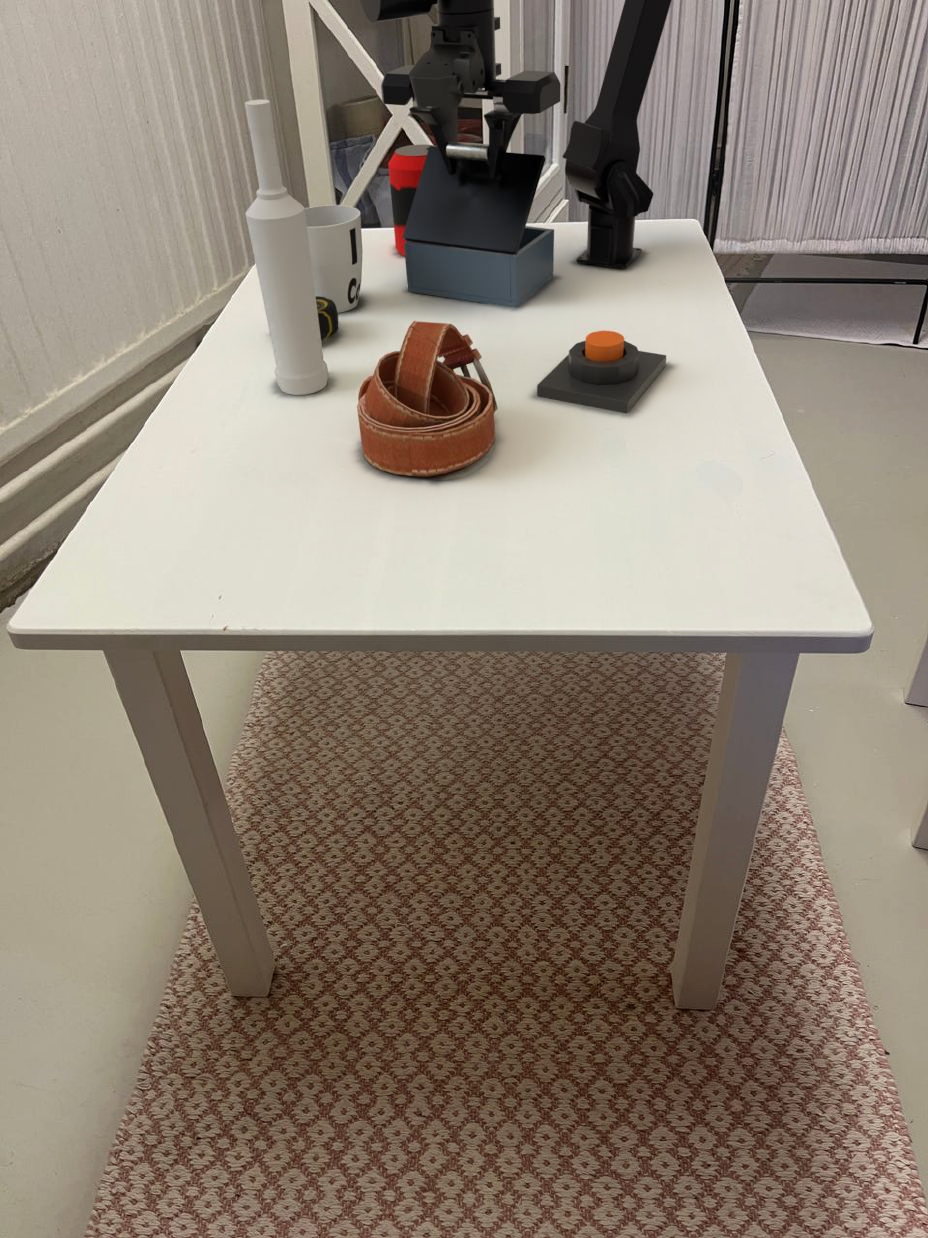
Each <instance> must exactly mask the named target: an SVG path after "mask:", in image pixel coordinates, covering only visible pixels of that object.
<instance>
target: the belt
mask: <svg viewBox="0 0 928 1238" xmlns="http://www.w3.org/2000/svg"><path fill="white" fill-rule="evenodd" d="M473 343H474V342H473V340H472V338H471V337H470V336H469V334H468V333H466V334H463V335H462V333H461V331H460V330H459V329H458V328H457V327H456V326H455V325H454V324H452V323H445V322H430V321H417V320H413V322H411V323H410V325H409V327H408V328H407V330H406V333H405V335H404V337H403V340H402V344H401V346H400V350H395V351H391V352H388V353H385V354H384V355H383V356H382V357H381V358H379V360H378V362H377V364H376V366H375V369H374V371H373V374H372V375H369V376H368V377H367V378H366V379H364V380H363V382H362V384H361V385H360V387H359V392H358V396H357V397H358V398H357V399H358V403H357V406H356V408H357V409H356V410H357V418H358V426H359V433H360V441H361V449H362V453H363V457H364V458H365V460H367V462H368V463H369V464H370V465H372V466H373V467H375V468H376V469H379V470H381V471H383V472H387V473H391V474H393V475H402V476H409V477H423V478H429V477H434V476H439V475H444V474H449V473H451V472H454V471H457V470H461V469H464V468H466V467H468V466H470V465H472V464H474V463H477V462H478V461H480V460H481V459H482V458H483V457H484V456H486V455H487V454H488V453H489V452H490V450H491V449H492V446H493V445H494V443H495V440H496V439H495V437H496V427H495V413H496V412H497V411H498V409H499V408H498V404H497V400H496V397H495V394H494V390H493V387H492V385H491V381H490V379H489V377H488V376H487V374H486V371H485V368H484V367H483V365H482V363H481V359H482V357H483V356H482V355H481V353H480V351H479V350H478V348H477V347H476V348H473V349H472V347H471V346H472V345H473ZM441 358H443V359H444V360H443V361H442V362H441V361H440V360H438V359H441ZM470 364H473V367H474V368H475V371H476V374H477V376H478V378H479V380H477V379H476V378H473V377H472V376H471V374H470V371H469V369H468V365H470ZM456 369H460V370H461V372H462V374H463V375H460V374H457V373H456V372H455V371H454V370H456Z"/></svg>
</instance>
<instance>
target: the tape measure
mask: <svg viewBox="0 0 928 1238" xmlns="http://www.w3.org/2000/svg"><path fill="white" fill-rule="evenodd" d="M316 304H317V312H318V320H319V328H320V336H321V342H323V341H324V340H327V339H329V338H331V337H333V336H334V335H335V334H336V333H338V331H339V326H340V325H339V324H340V323H339V322H340V321H339V313H337V308H336V305H335V303H334V302H333V301H332V300H330V299H327V298H325V297H320V296H316Z"/></svg>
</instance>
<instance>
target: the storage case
mask: <svg viewBox="0 0 928 1238" xmlns="http://www.w3.org/2000/svg"><path fill="white" fill-rule="evenodd" d="M404 250H405V256H404V261H405V273H406V285H407V292H409V293H415V294H422V295H428V296H434V297H441V298H446V299H447V298H448V299H455V300H460V301H468V302H473V303H481V304H490V305H495V306H496V305H497V306H501V307H509V308H515V309H517V308H518V307H519V306H520V305H522V304H523V303H524V302H525V301H527V300H528V299H529V298H530V297H532V296H533V295H534V294H535V293H537V292H538V291H539V290H540V289H542V288H543V287H545V285H546V284H548V283H549V282H550V281H551V280H553V279H554V266H555V265H554V261H555V258H554V257H555V253H554V252H555V228H545V227H535V226H527V225H526V226H525V230H524V233H523V236H522V240H521V243H520V246H519V250H518V253H517V255H514V254H506V253H498V252H491V251H483V250H475V249H467V248H460V247H452V246H444V245H436V244H428V243H421V242H413V241H406V242H405V243H404Z"/></svg>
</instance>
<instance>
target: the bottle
mask: <svg viewBox="0 0 928 1238" xmlns="http://www.w3.org/2000/svg"><path fill="white" fill-rule="evenodd" d="M244 108H245V114H246V120H247V124H248V126H247V127H248V129H249V132H250V139H251V144H252V150H253V151H252V152H253V156H254V162H255V168H256V174H257V180H258V185H259V187H258V189H257V190H256V198H255V199H254V201H253V202H252V203H251V205H250V206H249V207H248V209H247V210H246V212H245V218H246V225H247V228H248V233H249V238H250V243H251V248H252V252H253V257H254V263H255V268H256V272H257V277H258V283H259V286H260V292H261V297H262V302H263V307H264V312H265V316H266V323H267V327H268V332H269V336H270V341H271V346H272V350H273V355H274V361H275V365H276V366H275V369H274V376H275V380H276V382H277V385H278V387H279V389H280V390H281V392H283V393H285V394H288V395H291V396H292V395H293V396H305V395H310V394H314V393H317V392H319V391H322V390H323V389H324V388H326V386H327V383H328V379H329V368H328V364H327V362H326V361H325V360H324V351H323V345H322V341H321V336H320V328H319V320H318V312H317V304H316V296H315V288H314V280H313V272H312V264H311V256H310V249H309V241H308V233H307V225H306V217H305V206H303V205H302V203H300V202H299V201H298V200H296V199H295V198H294V197H292V196H291V195H290V194H289V193H288V188H287V187H285V186H284V185H283V180H282V175H281V169H280V161H279V156H278V150H277V145H276V143H277V142H276V136H275V130H274V120H273V114H272V107H271V101H270V100H268V99H253V100H252V99H251V100H247V101H245V102H244Z"/></svg>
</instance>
